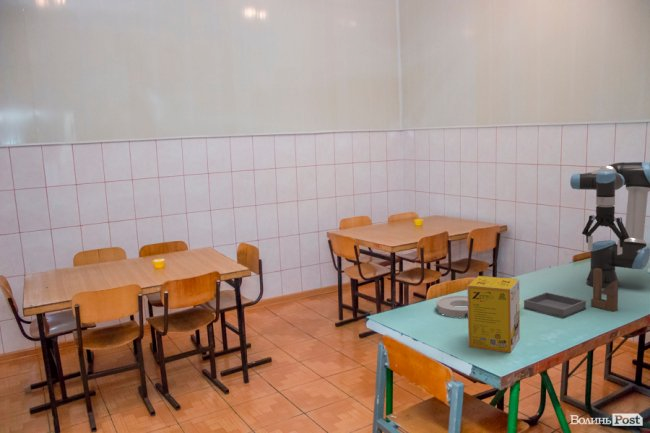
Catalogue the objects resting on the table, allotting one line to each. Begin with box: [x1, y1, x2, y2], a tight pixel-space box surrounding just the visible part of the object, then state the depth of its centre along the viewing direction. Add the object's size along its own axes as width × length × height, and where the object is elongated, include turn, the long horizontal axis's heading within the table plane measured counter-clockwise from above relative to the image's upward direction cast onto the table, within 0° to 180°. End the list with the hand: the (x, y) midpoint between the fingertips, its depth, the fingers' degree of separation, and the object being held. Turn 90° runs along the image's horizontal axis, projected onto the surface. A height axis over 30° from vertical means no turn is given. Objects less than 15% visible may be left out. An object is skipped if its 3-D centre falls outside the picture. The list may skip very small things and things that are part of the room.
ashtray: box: [436, 295, 468, 319], centre depth 263 cm, size 23×23×4 cm
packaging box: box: [466, 275, 521, 354], centre depth 219 cm, size 16×16×25 cm
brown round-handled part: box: [590, 268, 619, 312], centre depth 252 cm, size 4×11×18 cm, turn 34°
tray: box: [523, 292, 587, 319], centre depth 257 cm, size 18×20×4 cm
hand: (604, 252), depth 250 cm, fingers open, 13 cm apart
